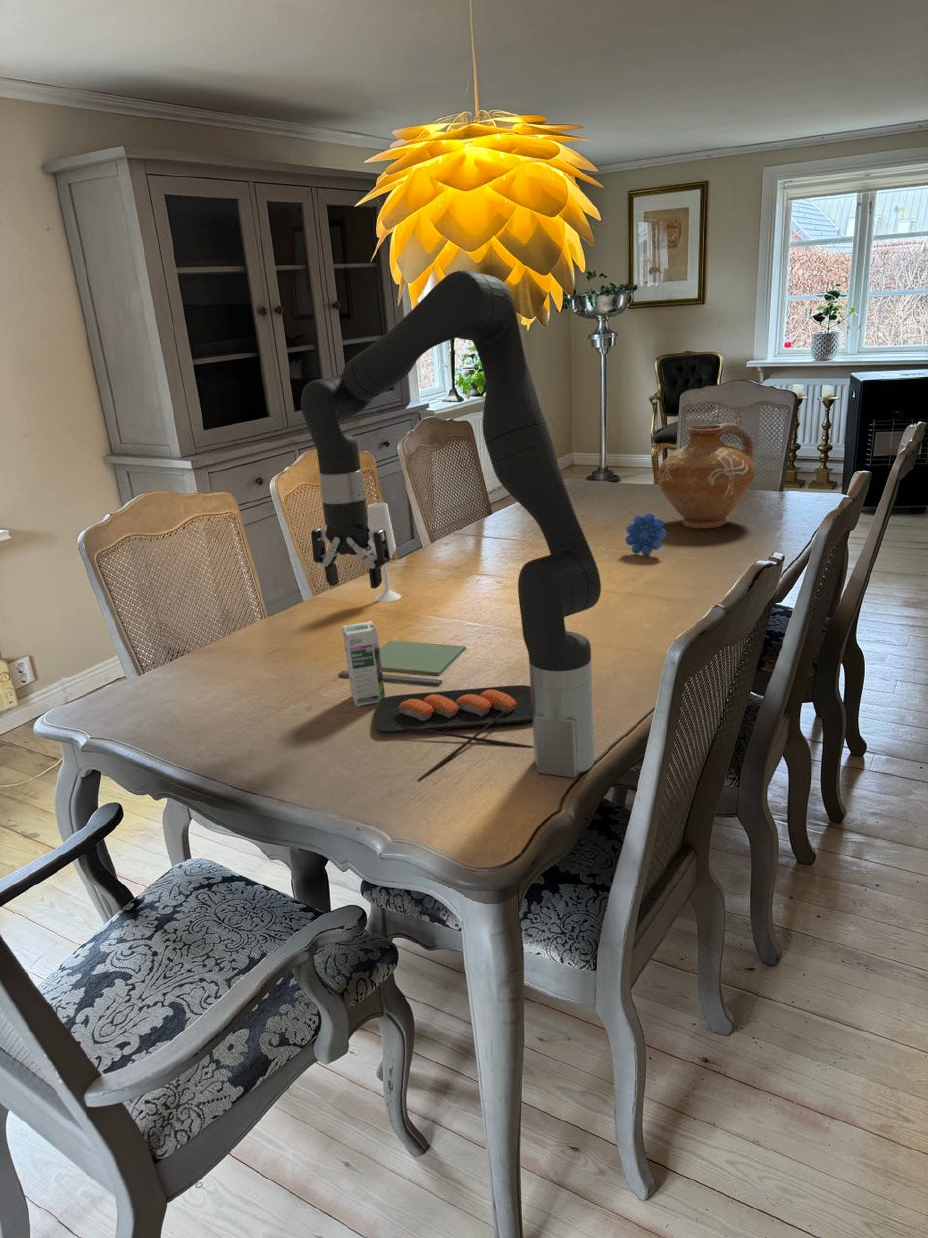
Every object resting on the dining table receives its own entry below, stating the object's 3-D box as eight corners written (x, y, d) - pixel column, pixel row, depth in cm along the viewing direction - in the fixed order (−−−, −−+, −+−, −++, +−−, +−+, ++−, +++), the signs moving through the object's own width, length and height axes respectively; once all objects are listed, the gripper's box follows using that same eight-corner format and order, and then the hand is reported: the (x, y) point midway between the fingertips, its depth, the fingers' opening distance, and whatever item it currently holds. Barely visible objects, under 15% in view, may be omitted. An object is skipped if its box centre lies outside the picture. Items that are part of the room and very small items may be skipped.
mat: (439, 675, 169) (439, 672, 169) (359, 667, 176) (358, 665, 176) (465, 648, 181) (465, 646, 181) (389, 643, 188) (389, 640, 188)
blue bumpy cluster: (671, 552, 237) (671, 510, 233) (662, 559, 231) (662, 515, 227) (632, 549, 243) (631, 507, 239) (622, 555, 238) (621, 513, 234)
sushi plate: (534, 692, 160) (533, 674, 159) (555, 774, 132) (554, 752, 130) (378, 705, 160) (376, 687, 158) (366, 790, 131) (363, 768, 130)
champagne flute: (397, 601, 215) (386, 507, 207) (371, 601, 217) (360, 508, 208) (404, 593, 221) (394, 501, 213) (379, 593, 223) (368, 502, 215)
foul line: (439, 685, 164) (438, 683, 164) (339, 676, 173) (338, 673, 173) (442, 682, 166) (442, 679, 166) (342, 673, 174) (342, 670, 174)
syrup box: (355, 708, 158) (345, 634, 153) (350, 695, 164) (341, 624, 159) (386, 702, 159) (377, 629, 155) (380, 690, 165) (371, 619, 160)
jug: (650, 516, 277) (649, 422, 267) (739, 510, 276) (742, 415, 265) (666, 538, 251) (666, 435, 241) (765, 532, 249) (769, 427, 239)
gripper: (296, 501, 148) (309, 590, 154) (369, 502, 143) (380, 594, 148) (319, 492, 155) (331, 578, 160) (390, 492, 149) (399, 581, 155)
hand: (354, 586), depth 154 cm, fingers open, 8 cm apart
